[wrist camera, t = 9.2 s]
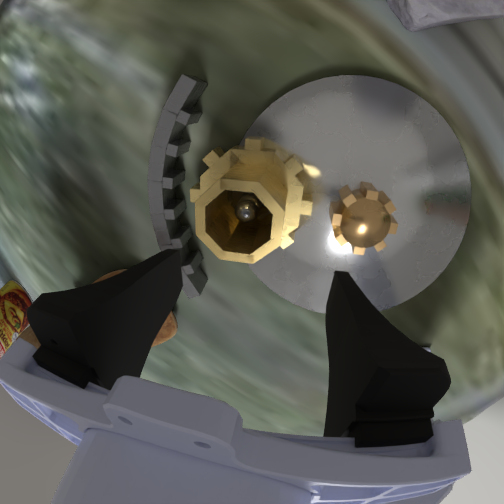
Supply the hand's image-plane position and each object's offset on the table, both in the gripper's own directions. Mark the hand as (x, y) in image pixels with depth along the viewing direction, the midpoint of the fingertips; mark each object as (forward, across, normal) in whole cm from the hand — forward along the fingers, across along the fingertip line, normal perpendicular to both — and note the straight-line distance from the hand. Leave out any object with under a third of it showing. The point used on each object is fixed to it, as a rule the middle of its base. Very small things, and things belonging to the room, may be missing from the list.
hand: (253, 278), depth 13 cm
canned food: (+10, +41, +19) cm, 46 cm away
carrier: (+10, -4, -1) cm, 10 cm away
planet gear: (+9, +2, -1) cm, 9 cm away
